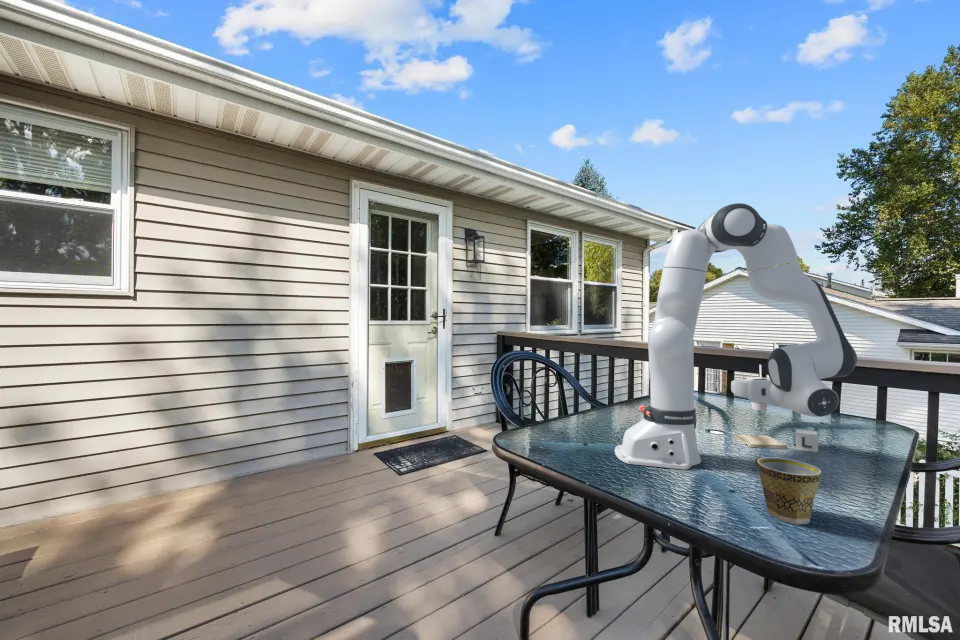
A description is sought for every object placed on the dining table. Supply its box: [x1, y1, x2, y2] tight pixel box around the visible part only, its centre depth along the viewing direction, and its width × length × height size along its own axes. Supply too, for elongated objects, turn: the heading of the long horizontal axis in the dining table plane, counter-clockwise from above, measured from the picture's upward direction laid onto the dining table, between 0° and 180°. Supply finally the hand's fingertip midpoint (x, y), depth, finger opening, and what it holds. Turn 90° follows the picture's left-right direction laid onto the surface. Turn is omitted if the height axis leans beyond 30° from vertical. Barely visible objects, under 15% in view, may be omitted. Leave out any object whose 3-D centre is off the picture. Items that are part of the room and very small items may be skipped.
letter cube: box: [795, 428, 819, 453], centre depth 119 cm, size 5×5×5 cm
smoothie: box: [746, 364, 768, 412], centre depth 125 cm, size 6×6×14 cm
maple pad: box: [733, 434, 788, 450], centre depth 125 cm, size 10×10×1 cm
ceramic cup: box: [755, 456, 822, 525], centre depth 80 cm, size 13×10×10 cm
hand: (757, 383), depth 125 cm, fingers closed on smoothie, 6 cm apart
